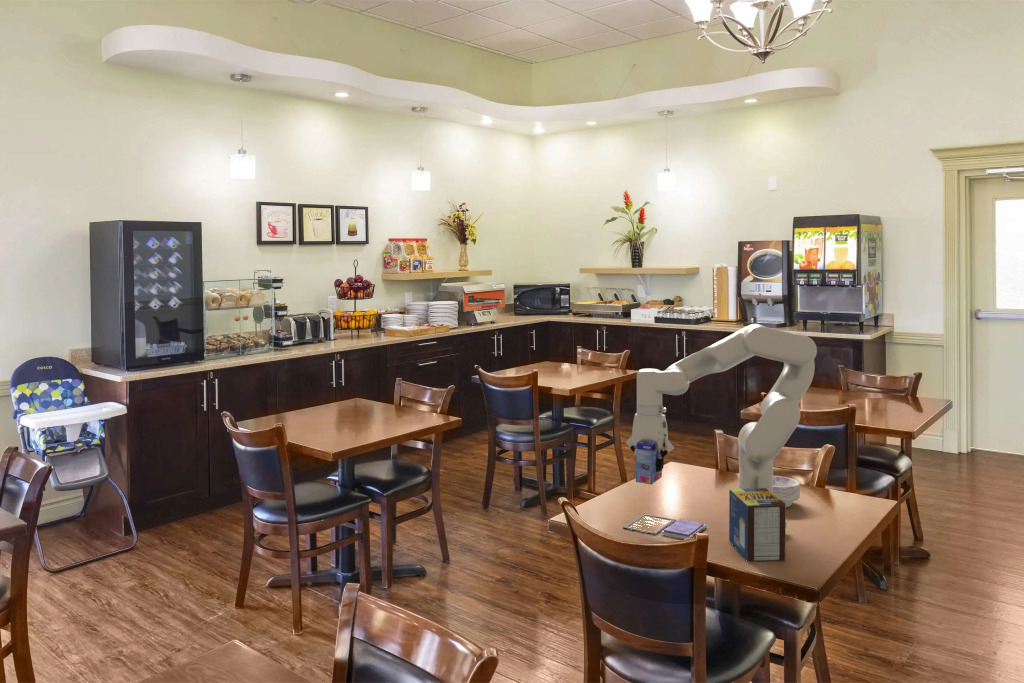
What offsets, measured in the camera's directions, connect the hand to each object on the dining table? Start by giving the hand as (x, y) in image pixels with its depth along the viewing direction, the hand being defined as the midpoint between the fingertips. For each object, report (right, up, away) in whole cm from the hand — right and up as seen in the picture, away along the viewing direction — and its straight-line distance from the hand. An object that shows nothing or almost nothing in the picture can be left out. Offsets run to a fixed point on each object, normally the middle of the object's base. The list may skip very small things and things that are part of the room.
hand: (649, 468), depth 231 cm
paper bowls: (+44, -15, +19) cm, 51 cm away
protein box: (+25, -19, -21) cm, 38 cm away
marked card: (0, -17, +2) cm, 17 cm away
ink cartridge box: (0, -4, 0) cm, 4 cm away
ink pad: (+9, -18, -5) cm, 21 cm away
